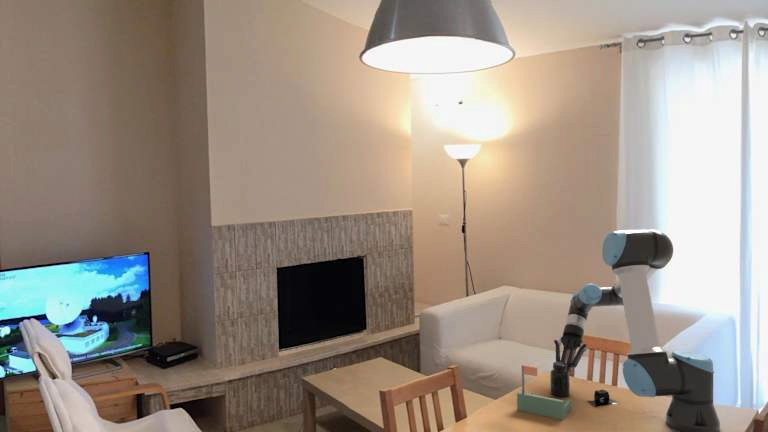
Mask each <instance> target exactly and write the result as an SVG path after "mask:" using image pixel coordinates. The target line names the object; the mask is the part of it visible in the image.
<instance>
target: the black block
mask: <svg viewBox="0 0 768 432" xmlns="http://www.w3.org/2000/svg"><path fill="white" fill-rule="evenodd" d="M593 396H594V399H592V400H587V401H586V403H588V404H590V405H591V406H594V407H595V408H597V407H604V406H610V405H617V404H619V402H617V401H615V400H613V399H611V398H610V393H609V391H607V390H606V389H599V390H594V394H593Z"/></svg>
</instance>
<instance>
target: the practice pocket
mask: <svg viewBox="0 0 768 432" xmlns="http://www.w3.org/2000/svg"><path fill="white" fill-rule="evenodd" d="M525 375H527V376H531V377H532V376H533V377H538V367H536V366H535V367H534V366H530V365H524V364H522V365H521V391H518V392H517V393H516V399H517V400H516V401H517V403H516V404H517V405H516V406H517V407H516V408H517V411H520V412H525V413H530V414H535V415H539V416H545V417H548V418H554V419H556V420H557V419H558V420H562V421H563V420H564V419H565V418H566V416H567V415H568V414H569V412H570V411H571V410H572V407H573V406H572V403H573V402H572V400H571V399H567V401H566V402H565V400H563V399H559V398H553V397H546V396H543V395H536V394H533V392H525Z"/></svg>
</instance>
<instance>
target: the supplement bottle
mask: <svg viewBox="0 0 768 432" xmlns="http://www.w3.org/2000/svg"><path fill="white" fill-rule="evenodd" d="M566 369H567V362H566V363H564V362H556V361H554V362H553V363H552V369H551V370H550V386H549V387H550V388H549V389H550V395H551V396H553V397H554V398H556V399H565V398H568V397H570V389H571V388H570V373H569V372H568V371H567V370H566Z"/></svg>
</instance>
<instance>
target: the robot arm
mask: <svg viewBox="0 0 768 432" xmlns="http://www.w3.org/2000/svg"><path fill="white" fill-rule="evenodd" d="M601 249H602V250H601V253H602V254H601V255H602V260H603V261H604V264H605V265H607V266H609V267H611V271H612V273H614V274H615V275H616V276H617V277H618V281H617V282H616V283H615V284H614V285H613V286H601V287H600V286H598V285H596V284H594V283H587V284H586V285H585V284H584V286H583V287H582V288H581V289H580V290H579V292H575V293H574V294H573V295H572V298H571V299H570V305H569V309H568V313H567V316H566V321H565V324H564V325H565V326H564V328H563V331H562V332H563V333H562V336H561V337H560V339H559V340H558V339H554V341H553V342H554V344H555V362H564V363H566V364H567V369H566V370H567V371H568V372H569V374H570V372H571V369H572V368H577V366H578V364H579V363H580V360H582V359H581V358H582V357H583V355H584V353H585V352H586V351H587V350H588V349H589V348H588V345H587V344H586V343H583V342H584V341H583V338H584V333H585V328H586V324H587V319H588V316H589V313H590V311H591V310H592V309H593V308H594V307H595V308H596V307H597V308H599V307H613V306H614V307H615V306H616V307H617V306H621V307H622V306H623V310H624V316H625V319H626V320H625V321H626V327H627V331H628V333H627V334H628V338H629V343H630V349H629V351H628V353H627V359H626V360H625V361H624V362H623V364H622V374H623V379H624V381H625V384H626V385H627V387H628V389H629V390H630V391H631V393H633V395H635V396H636V397H641V398H646V397H647V398H655V397H668V396H669V397H670V396H671V400H670V404H669V406H668V408H667V410H666V414H665V417H666V419H665V420H666V423H667V425H668V426H670V427H671V428H672V429H675V430H677V431H681V432H719V431H720V429H721V422H720V418H719V416H718V414H717V411H716V407H715V405H714V373H715V371H714V363H713V360H712V359H711V358H710V357H708V356H706V355H704V354H703V353H698V352H694V351H689V350H683V349H682V350H681V349H679V350H677V349H676V350H673V351H672V352H671V356H669V357H668V354H667V350H665V349H664V348H663V347H661V345H660V344H661V343H660V340H659V335H658V329H657V324H656V320H655V314H654V309H653V307H654V306H653V303H652V297H651V294H650V289H649V283H648V280H649V279H650V278H651V277H652V276H653V275H654V274H655V273H656V271H658V270H661V269H663V268H665V267H666V266H667V265H668V264H669V263H670V262H671V259H672V258H673V256H674V255H673V254H674V246H673V242H672V240H671V239H670V238H669V236H667V234H665V233H664V232H662V231H660V230H657V229H625V230H624V229H621V230H616V231H615V230H614V231H610V232H609V233H607V234H606V236H605V238H604V240H603V243H602V247H601ZM561 346H563V349H562V352H561ZM577 349H578V351H576V350H577ZM561 353H562V354H561ZM575 353H576V354H575Z"/></svg>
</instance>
